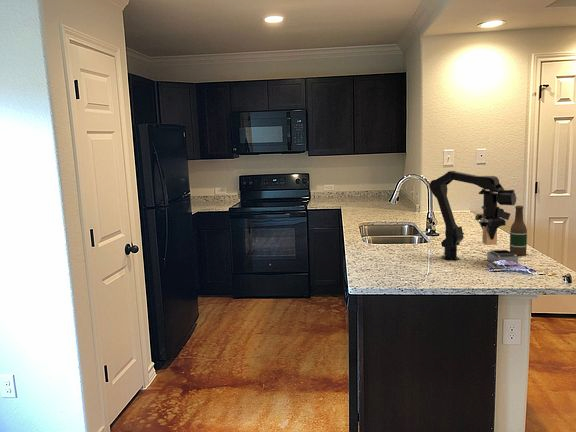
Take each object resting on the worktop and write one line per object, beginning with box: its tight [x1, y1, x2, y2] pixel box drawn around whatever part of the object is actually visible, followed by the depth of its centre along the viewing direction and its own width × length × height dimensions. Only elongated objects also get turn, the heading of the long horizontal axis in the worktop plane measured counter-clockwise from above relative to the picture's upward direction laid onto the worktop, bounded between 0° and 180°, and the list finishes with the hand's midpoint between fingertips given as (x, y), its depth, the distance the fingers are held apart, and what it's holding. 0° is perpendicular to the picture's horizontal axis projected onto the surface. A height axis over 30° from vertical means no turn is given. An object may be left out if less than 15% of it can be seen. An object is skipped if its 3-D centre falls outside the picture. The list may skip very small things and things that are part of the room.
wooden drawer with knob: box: [481, 226, 498, 246], centre depth 213 cm, size 5×5×9 cm
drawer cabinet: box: [486, 249, 519, 264], centre depth 216 cm, size 11×9×5 cm
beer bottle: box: [509, 205, 528, 257], centre depth 229 cm, size 8×8×24 cm
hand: (489, 238), depth 213 cm, fingers closed on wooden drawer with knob, 5 cm apart
